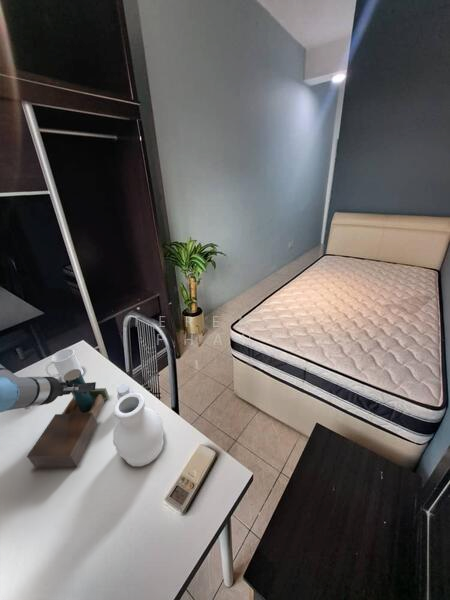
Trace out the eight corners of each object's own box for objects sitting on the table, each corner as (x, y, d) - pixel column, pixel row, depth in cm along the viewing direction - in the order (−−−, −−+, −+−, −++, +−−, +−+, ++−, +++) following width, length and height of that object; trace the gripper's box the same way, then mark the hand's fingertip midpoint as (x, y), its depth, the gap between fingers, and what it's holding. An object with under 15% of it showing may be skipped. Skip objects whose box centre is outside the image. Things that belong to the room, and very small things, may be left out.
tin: (79, 405, 90) (63, 373, 83) (94, 398, 93) (79, 366, 85) (80, 415, 86) (63, 382, 79) (96, 408, 89) (81, 375, 81)
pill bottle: (129, 397, 95) (124, 380, 91) (139, 402, 92) (133, 385, 88) (118, 407, 91) (111, 390, 87) (127, 413, 88) (121, 396, 84)
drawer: (81, 395, 96) (77, 386, 93) (110, 394, 95) (107, 385, 93) (61, 428, 84) (55, 419, 81) (94, 427, 83) (89, 418, 81)
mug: (52, 390, 100) (40, 368, 94) (53, 376, 107) (42, 355, 101) (84, 378, 105) (74, 356, 99) (83, 366, 111) (74, 345, 106)
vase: (138, 482, 68) (120, 439, 59) (111, 452, 76) (90, 409, 67) (176, 441, 78) (165, 398, 69) (148, 418, 86) (135, 377, 77)
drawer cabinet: (62, 426, 85) (55, 414, 82) (98, 425, 85) (92, 412, 82) (36, 469, 73) (26, 456, 70) (77, 467, 73) (70, 454, 70)
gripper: (3, 407, 67) (61, 398, 89) (68, 404, 66) (110, 396, 89) (9, 378, 69) (64, 376, 91) (72, 375, 68) (112, 374, 91)
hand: (86, 386), depth 90 cm, fingers closed on tin, 5 cm apart
